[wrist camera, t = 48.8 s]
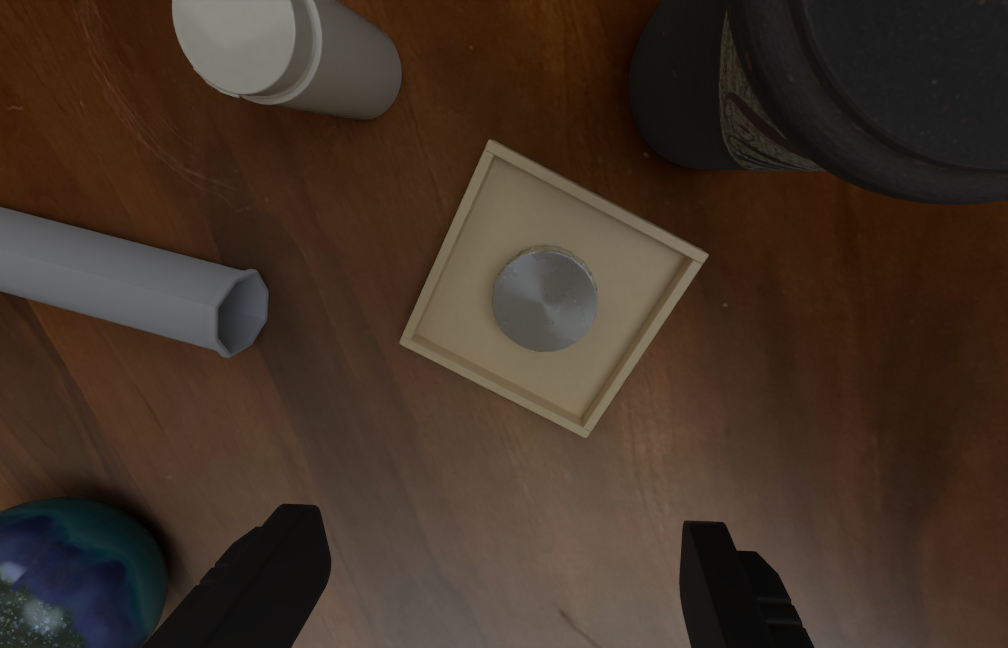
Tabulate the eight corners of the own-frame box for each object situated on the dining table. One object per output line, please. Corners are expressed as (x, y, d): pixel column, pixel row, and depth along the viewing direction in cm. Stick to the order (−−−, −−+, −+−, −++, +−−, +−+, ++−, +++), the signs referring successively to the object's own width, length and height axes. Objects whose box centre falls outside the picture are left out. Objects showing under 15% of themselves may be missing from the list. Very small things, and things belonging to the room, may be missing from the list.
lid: (475, 283, 29) (469, 291, 27) (557, 222, 27) (556, 227, 26) (535, 359, 30) (532, 371, 29) (617, 306, 28) (620, 315, 27)
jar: (322, 6, 26) (168, -86, 16) (411, 35, 26) (310, -40, 16) (308, 104, 27) (162, 76, 18) (391, 131, 27) (290, 118, 18)
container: (630, 186, 27) (768, 259, 8) (608, 1, 24) (739, -548, 5) (800, 152, 25) (1482, 144, 6) (797, -50, 22) (1983, -1125, 4)
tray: (493, 139, 27) (488, 138, 25) (701, 249, 27) (709, 254, 26) (407, 334, 31) (398, 344, 30) (585, 425, 32) (586, 439, 30)
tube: (-140, 272, 31) (224, 373, 29) (-204, 195, 27) (204, 304, 26) (-48, 234, 35) (275, 321, 33) (-94, 162, 32) (262, 256, 30)
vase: (24, 555, 44) (-194, 713, 31) (52, 434, 38) (-197, 567, 26) (175, 635, 45) (22, 820, 32) (223, 527, 39) (61, 699, 27)
